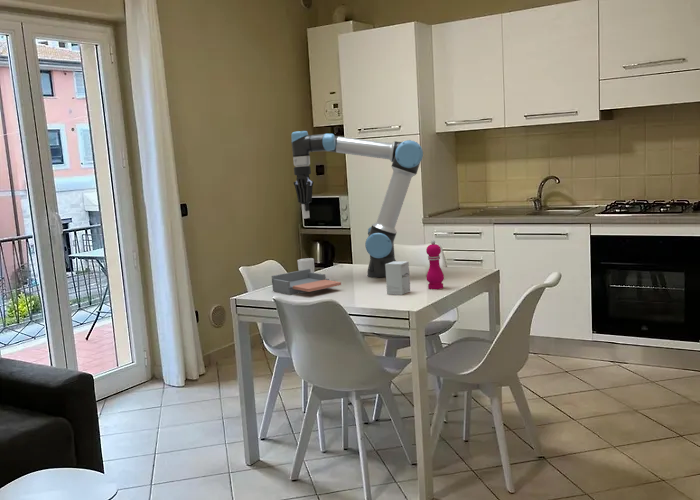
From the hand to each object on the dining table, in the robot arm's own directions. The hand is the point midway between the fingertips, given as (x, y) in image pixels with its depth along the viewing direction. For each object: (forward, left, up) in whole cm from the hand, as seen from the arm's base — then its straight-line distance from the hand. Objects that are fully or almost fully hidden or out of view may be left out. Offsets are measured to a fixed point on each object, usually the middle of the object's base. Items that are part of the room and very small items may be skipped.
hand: (306, 218), depth 319 cm
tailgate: (-2, +17, -27) cm, 32 cm away
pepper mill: (-57, +25, -31) cm, 69 cm away
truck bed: (+3, +12, -30) cm, 33 cm away
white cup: (+4, -10, -31) cm, 32 cm away
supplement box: (-42, +31, -31) cm, 60 cm away
